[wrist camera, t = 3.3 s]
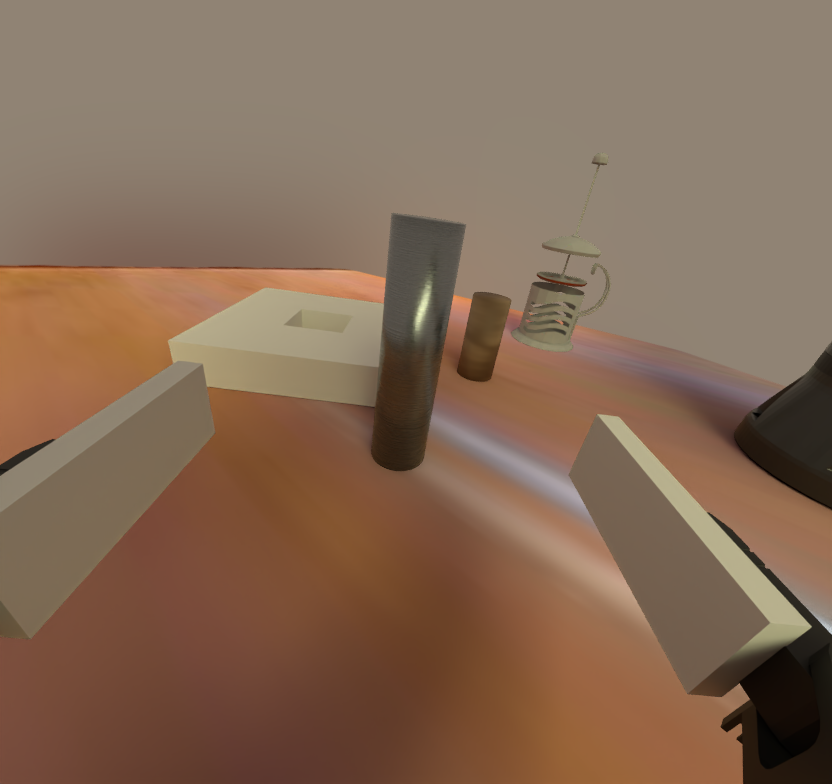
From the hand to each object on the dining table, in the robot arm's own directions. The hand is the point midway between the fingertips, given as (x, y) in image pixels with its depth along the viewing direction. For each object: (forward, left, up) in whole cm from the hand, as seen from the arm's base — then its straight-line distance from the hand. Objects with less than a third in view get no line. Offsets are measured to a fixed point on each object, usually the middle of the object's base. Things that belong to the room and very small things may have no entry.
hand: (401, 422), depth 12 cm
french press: (-22, -43, -10) cm, 49 cm away
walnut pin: (-8, -27, -10) cm, 30 cm away
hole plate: (+10, -27, -10) cm, 30 cm away
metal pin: (0, -11, -10) cm, 15 cm away
